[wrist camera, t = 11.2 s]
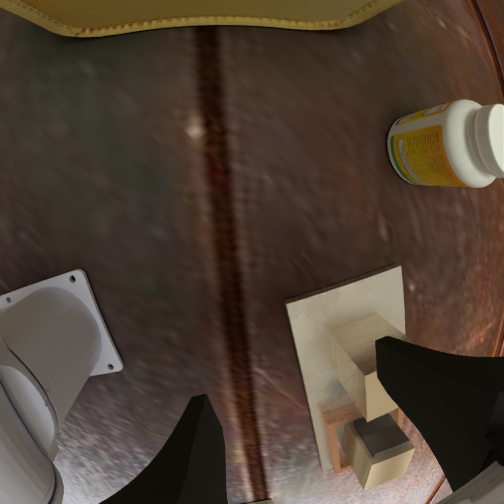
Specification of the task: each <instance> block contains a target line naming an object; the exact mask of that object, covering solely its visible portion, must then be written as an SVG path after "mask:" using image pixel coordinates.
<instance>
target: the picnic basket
mask: <svg viewBox="0 0 504 504" xmlns="http://www.w3.org/2000/svg"><path fill="white" fill-rule="evenodd" d="M402 1H404V0H0V7H1V8H3V9H5V10H8V11H10V12H12V13H14V14H16V15H18V16H21V17H23V18H25V19H27V20H29V21H31V22H33V23H35V24H37V25H39V26H41V27H43V28H45V29H47V30H49V31H50V32H53V33H56V34H59V35H63V36H72V37H101V36H108V35H116V34H123V33H128V32H135V31H142V30H149V29H158V28H168V27H180V26H197V25H248V26H265V27H278V28H287V29H302V30H333V29H340V28H348V27H352V26H354V25H357V24H360V23H363V22H364V21H366V20H368V19H370V18H371V17H373V16H375V15H377V14H379V13H380V12H382V11H384V10H386V9H388V8H390V7H392V6H394V5H396V4H398V3H400V2H402Z"/></svg>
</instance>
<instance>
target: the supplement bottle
mask: <svg viewBox="0 0 504 504" xmlns="http://www.w3.org/2000/svg"><path fill="white" fill-rule="evenodd" d="M387 146H388V153H389V157H390V161H391V163H392V165H393V167H394V169H395V171H396V172H397V173H398V174H399V175H400V177H401V178H403V179H404V180H405V181H407V182H409V183H411V184H415V185H430V186H454V187H473V188H480V187H485V186H487V185H489V184H490V183H492V182H493V181H494V179H495V178H504V105H502V104H494V105H488V106H481V105H479V104H478V103H476V102H474V101H471V100H457V101H453V102H449V103H446V104H443V105H439V106H436V107H432V108H429V109H425V110H422V111H419V112H416V113H413V114H410V115H407V116H404V117H402V118H400V119H398V120H397V121H396V122H395V123H394V124H393V125H392V127H391V129H390V131H389V134H388V140H387Z"/></svg>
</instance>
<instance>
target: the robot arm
mask: <svg viewBox="0 0 504 504" xmlns="http://www.w3.org/2000/svg"><path fill="white" fill-rule="evenodd" d="M72 275H73V276H74V277H75V278H76V281H73V279H72ZM9 298H10V299H11V301H10V300H9ZM0 309H1V310H0V504H61V503H62V500H63V494H64V486H63V481H62V478H61V475H60V473H59V471H58V470H57V468H56V467H55V465H54V464H53V461H54V459H55V457H56V455H57V453H58V450H59V448H58V446H57V444H56V441H55V437H56V434H57V432H58V430H59V428H60V427H61V425H62V423H63V421H64V419H65V417H66V416H67V414H68V412H69V410H70V408H71V407H72V405H73V403H74V401H75V400H76V398H77V396H78V394H79V393H80V391H81V389H82V388H83V386H84V384H85V382H86V381H87V379H88V377H89V376H93V375H100V374H106V373H112V372H117V371H121V370H122V368H123V365H124V364H123V362H122V360H121V357H120V355H119V353H118V351H117V349H116V347H115V345H114V343H113V340H112V338H111V336H110V334H109V332H108V329H107V327H106V325H105V322H104V320H103V318H102V315H101V313H100V310H99V308H98V305H97V303H96V300H95V298H94V295H93V292H92V290H91V287H90V284H89V282H88V279H87V276H86V274H85V272H84V271H83V270H82V269H77V270H73V271H70V272H67V273H64V274H61V275H58V276H55V277H52V278H49V279H46V280H44V281H41V282H38V283H35V284H32V285H29V286H26V287H23V288H20V289H18V290H15V291H12V292H9V293H6V294H3V295H1V296H0ZM375 350H376V366H377V378H378V380H379V381H380V383H381V385H382V386H383V388H384V389H385V391H386V392H387V394H388V395H389V396H390V397H391V399H392V400H393V401H394V402H395V403H396V404H397V406H398V407H399V408H400V409H401V410H402V411H403V412H404V414H405V415H406V416H407V417H408V418H409V419H410V421H411V422H412V423H413V424H414V425H415V426H416V428H417V429H418V430H419V432H420V433H421V435H422V436H423V438H424V439H425V441H426V442H427V444H428V445H429V447H430V449H431V450H432V452H433V454H434V456H435V457H436V459H437V461H438V463H439V464H440V466H441V468H442V470H443V472H444V474H445V476H446V478H447V480H448V482H449V484H450V487H451V489H452V491H453V493H452V494H451V495H449V496H448V497H446V498H444V499H443V500H441V501H440V502H438V503H436V504H504V356H502V357H471V356H462V355H455V354H449V353H445V352H440V351H436V350H432V349H429V348H425V347H422V346H419V345H415V344H412V343H409V342H406V341H403V340H400V339H397V338H394V337H391V336H385V337H382V338H380V339H378V340H375ZM109 364H111V365H113V366H114V367H111V366H110V365H109ZM99 504H228V501H227V492H226V460H225V443H224V437H223V431H222V426H221V424H220V422H219V420H218V418H217V416H216V414H215V412H214V410H213V407H212V405H211V403H210V401H209V399H208V396H207V394H203V395H198V396H193V397H192V398H191V399H190V401H189V403H188V405H187V407H186V409H185V411H184V413H183V414H182V416H181V418H180V420H179V422H178V424H177V425H176V427H175V429H174V431H173V432H172V434H171V435H170V437H169V438H168V440H167V441H166V443H165V444H164V446H163V447H162V449H161V450H160V452H159V453H158V454H157V455H156V457H155V458H154V459H153V460H152V461H151V462H150V464H149V465H148V466H147V467H146V468H145V469H144V470H143V471H142V472H141V473H140V474H139V475H138V476H137V477H135V478H134V479H133V480H132V481H131V482H130V483H129V484H127V485H126V486H125V487H123V488H122V489H121V490H119V491H118V492H117V493H115V494H114V495H112V496H111V497H109V498H107V499H106V500H104V501H102V502H101V503H99Z"/></svg>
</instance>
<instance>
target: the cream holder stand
mask: <svg viewBox="0 0 504 504" xmlns="http://www.w3.org/2000/svg"><path fill="white" fill-rule="evenodd" d="M284 304H285V308H286V312H287V316H288V320H289V325H290V329H291V333H292V337H293V342H294V346H295V350H296V355H297V359H298V363H299V368H300V372H301V377H302V381H303V385H304V390H305V394H306V399H307V403H308V408H309V412H310V417H311V422H312V426H313V431H314V435H315V440H316V445H317V450H318V454H319V459H320V464H321V467H322V470H323V471H325V470H328V469H331V468H333V470H334V473H335V474H337V473H340V472H342V471H345V470H348V469H350V468H352V466H351V465H350V463H349V461H348V459H347V457H346V455H345V453H344V451H343V449H342V447H341V446H342V439H343V432H344V424H345V423H348V422H350V421H353V420H355V419H357V418H360V417H362V416H364V418H365V419H366V421H367V422H369V421H371V420H373V419H375V418H378V417H380V416H382V415H384V414H386V413H389V414H390V415H391V416H392V418H393V419H394V420H395V422H396V423H397V424H398V425H399V427H400V428H401V429H402V426H403V415H404V412H403V411H402V410H401V409H400V408H399V407H398V406H397V404H396V403H395V402H394V401H393V400H392V399H391V397H390V396H389V395H388V394H387V392H386V391H385V389H384V388H383V386H382V385H381V383H380V381H379V380H378V378H377V366H376V350H375V340H378V339H380V338H382V337H385V336H391V337H394V338H397V339H400V340H403V341H406V342H409V343H412V344H415V345H417V344H416V343H415V342H414V341H412V340H411V339H410V338H408V337H407V336H406V335H405V313H404V296H403V283H402V271H401V266H400V265H398V264H396V263H395V264H392V265H389V266H387V267H384V268H381V269H378V270H375V271H372V272H370V273H367V274H364V275H361V276H358V277H355V278H352V279H349V280H346V281H343V282H340V283H337V284H334V285H331V286H328V287H325V288H322V289H319V290H315V291H312V292H309V293H306V294H303V295H299V296H296V297H293V298H290V299H286V300H284Z"/></svg>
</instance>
